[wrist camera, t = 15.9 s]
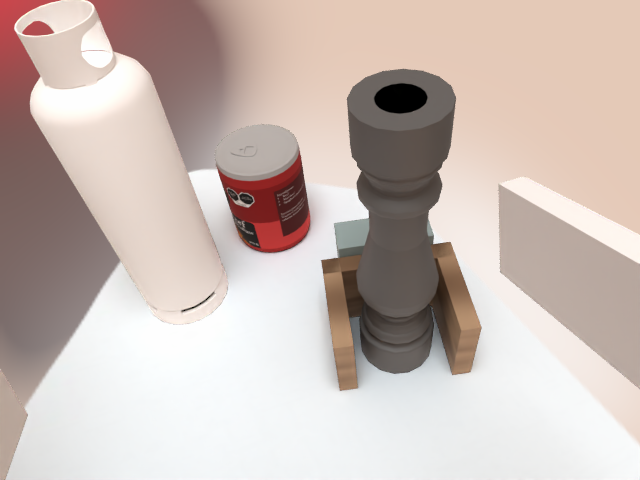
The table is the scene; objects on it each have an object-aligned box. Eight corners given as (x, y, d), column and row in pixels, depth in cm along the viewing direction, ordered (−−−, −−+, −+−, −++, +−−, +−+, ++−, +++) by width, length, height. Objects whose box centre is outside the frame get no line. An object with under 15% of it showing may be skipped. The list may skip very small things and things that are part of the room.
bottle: (214, 328, 49) (83, 52, 28) (135, 320, 50) (-45, 52, 29) (237, 261, 54) (142, -15, 33) (165, 256, 56) (31, -12, 35)
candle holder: (415, 304, 48) (432, 57, 30) (442, 362, 44) (482, 116, 26) (351, 322, 48) (328, 81, 29) (373, 382, 44) (362, 146, 25)
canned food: (236, 211, 59) (211, 132, 51) (304, 196, 60) (291, 116, 51) (241, 261, 54) (215, 183, 46) (317, 246, 54) (304, 165, 46)
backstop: (428, 291, 49) (433, 235, 43) (344, 303, 49) (338, 249, 43) (420, 267, 51) (425, 210, 45) (340, 278, 51) (334, 223, 45)
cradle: (470, 372, 44) (481, 327, 38) (339, 390, 44) (333, 348, 38) (443, 290, 49) (450, 241, 44) (328, 306, 49) (321, 260, 44)
